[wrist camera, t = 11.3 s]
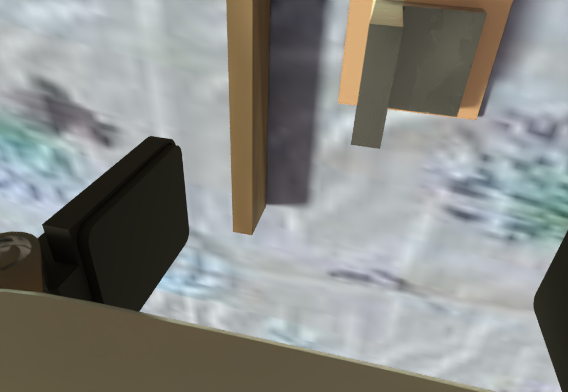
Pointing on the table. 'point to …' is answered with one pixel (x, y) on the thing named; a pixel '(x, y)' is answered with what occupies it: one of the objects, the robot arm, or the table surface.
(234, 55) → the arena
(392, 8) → the bracket
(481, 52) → the pad
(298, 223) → the table surface
